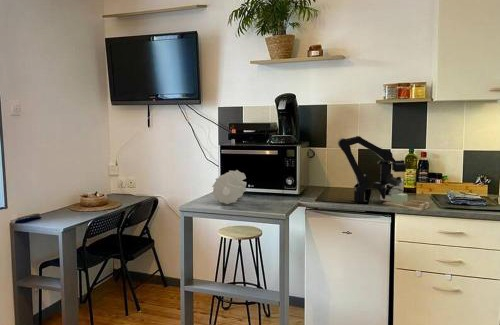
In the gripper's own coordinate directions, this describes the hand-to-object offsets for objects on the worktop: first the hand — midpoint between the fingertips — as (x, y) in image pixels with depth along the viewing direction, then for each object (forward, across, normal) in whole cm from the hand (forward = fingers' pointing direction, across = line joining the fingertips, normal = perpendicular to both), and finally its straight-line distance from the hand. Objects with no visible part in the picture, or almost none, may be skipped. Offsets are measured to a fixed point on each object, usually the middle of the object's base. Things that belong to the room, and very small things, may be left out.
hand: (385, 198), depth 225 cm
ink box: (+2, +15, +3) cm, 15 cm away
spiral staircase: (+2, -65, +64) cm, 91 cm away
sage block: (+1, 0, -5) cm, 5 cm away
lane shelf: (+2, 0, -13) cm, 13 cm away
